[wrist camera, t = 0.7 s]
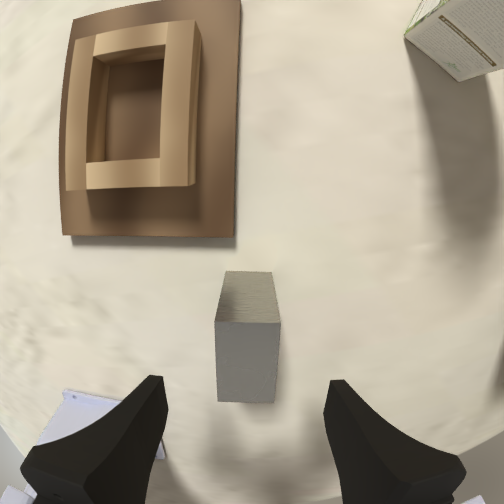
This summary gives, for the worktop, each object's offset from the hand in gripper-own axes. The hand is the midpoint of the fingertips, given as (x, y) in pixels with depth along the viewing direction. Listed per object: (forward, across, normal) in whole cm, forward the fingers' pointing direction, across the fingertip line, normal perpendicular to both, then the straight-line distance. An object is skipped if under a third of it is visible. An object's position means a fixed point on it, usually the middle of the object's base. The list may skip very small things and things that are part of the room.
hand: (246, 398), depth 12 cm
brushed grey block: (+9, 0, 0) cm, 9 cm away
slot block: (+9, +7, -13) cm, 18 cm away
